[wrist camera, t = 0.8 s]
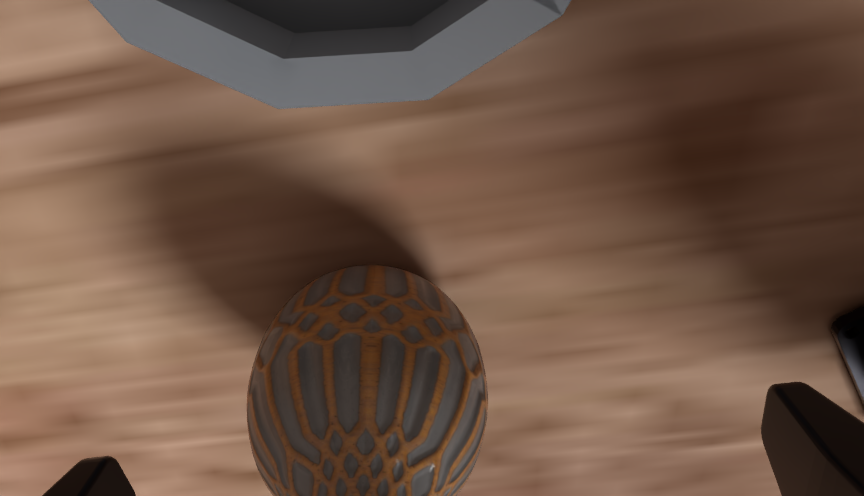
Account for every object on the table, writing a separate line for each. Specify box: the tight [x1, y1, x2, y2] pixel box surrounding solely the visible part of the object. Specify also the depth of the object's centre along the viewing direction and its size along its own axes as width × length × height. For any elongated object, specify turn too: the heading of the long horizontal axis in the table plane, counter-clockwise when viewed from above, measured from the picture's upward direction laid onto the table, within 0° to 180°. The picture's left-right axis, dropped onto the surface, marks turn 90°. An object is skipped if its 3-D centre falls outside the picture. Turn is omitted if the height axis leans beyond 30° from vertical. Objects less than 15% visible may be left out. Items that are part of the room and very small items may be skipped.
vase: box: [247, 265, 488, 496], centre depth 20 cm, size 7×7×9 cm
